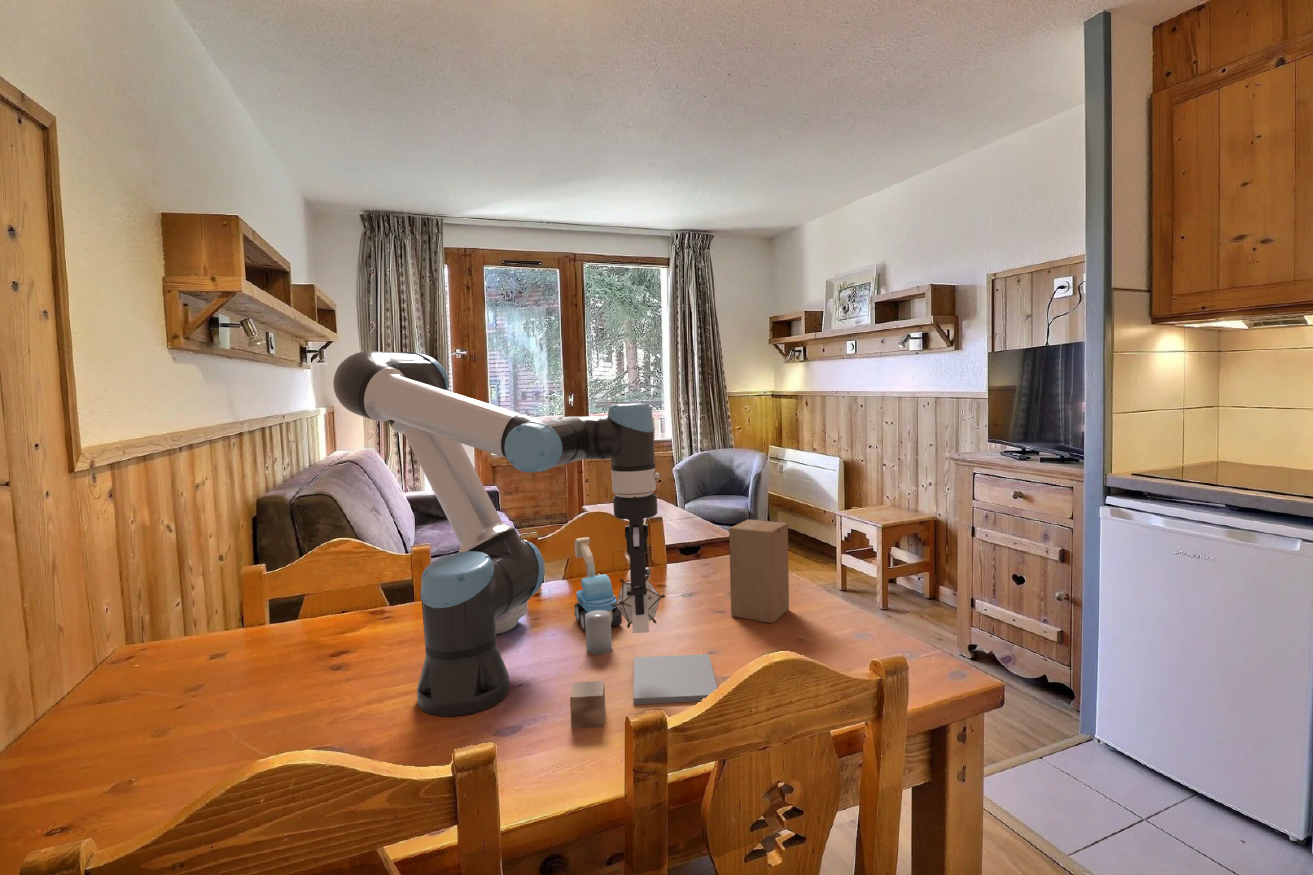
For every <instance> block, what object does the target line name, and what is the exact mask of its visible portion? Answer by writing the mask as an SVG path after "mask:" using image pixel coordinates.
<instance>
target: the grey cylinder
mask: <svg viewBox="0 0 1313 875" xmlns="http://www.w3.org/2000/svg"><path fill="white" fill-rule="evenodd" d="M585 627H586V631H585V643H586V645H585V646H586V652H587V653H589V654H591V655H604V654H607V653H610V652H612V649H613V647H612V646H613V645H612V640H613V639H612V624H611V614H610V612H608V611H604V610H595V611H591V612H588V613H586V614H585Z"/></svg>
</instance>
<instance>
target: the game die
mask: <svg viewBox="0 0 1313 875" xmlns="http://www.w3.org/2000/svg"><path fill="white" fill-rule="evenodd" d="M649 577H650V575H646V589H647V599H648V620H649V622H650V621H652V623H653V624H657V620H656V619H655V616H656V613H657V610H658V607H659V604H660V601H661V599H663V598H665V597H666V594H665V595H664V594H660V593H659V592H658V590H656V589H655V587H654V586H653V585H652V583H651V582H650V580H649V579H650V578H649ZM619 582H620V583H621V586H620V591H619V592H618V596H617V599H616V601H617V602H616V604H612V605H611V606H612V607H615V606H616V607H617V608H618V609H619V611H620V612H621V613H622V616H623V618H624V619H625V620H626V622H627V625H626V628H627V629H629V628H631V624H632V606H631V596H627V592H629V591H630V590H631V580H628V581H624V579H623V578H619ZM634 588H635V587H634Z"/></svg>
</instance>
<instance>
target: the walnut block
mask: <svg viewBox="0 0 1313 875" xmlns="http://www.w3.org/2000/svg"><path fill="white" fill-rule="evenodd" d="M605 690H606V689H605V681H604V680H595V681H575V682H574V681H573V682H572V686H571V690H570V695H569V703H570V705H569V707H570V708H569V709H570V725H571V727H570V728H571V729H581V728H582V729H583V728H584V729H585V728H603V727H605V723H606V722H605V721H606V719H605V718H606V695H605V694H606V692H605Z"/></svg>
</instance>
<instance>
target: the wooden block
mask: <svg viewBox="0 0 1313 875" xmlns="http://www.w3.org/2000/svg"><path fill="white" fill-rule="evenodd" d="M728 532H729V534H728V535H729V577H730V578H729V581H730V582H729V584H730V586H729V588H730V616H731V617H734V618H735V617H736V618H739V619H740V618H741V619H746V620H751V621H758V622H762V623H768V624H774V623H775V622H776V621H777V620H778V619H779V618H780V617H782V616H783V615H784V614H786V612H788V611H789V609H790V592H789V591H790V588H789V587H790V585H789V584H790V583H789V582H790V581H789V580H790V579H789V574H790V573H789V527H788V523H787V522H780V521H770V520H759V519H746V520H744V521H741V522H740V523H737V524H735V525H733V526H731V527H729V529H728Z"/></svg>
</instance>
